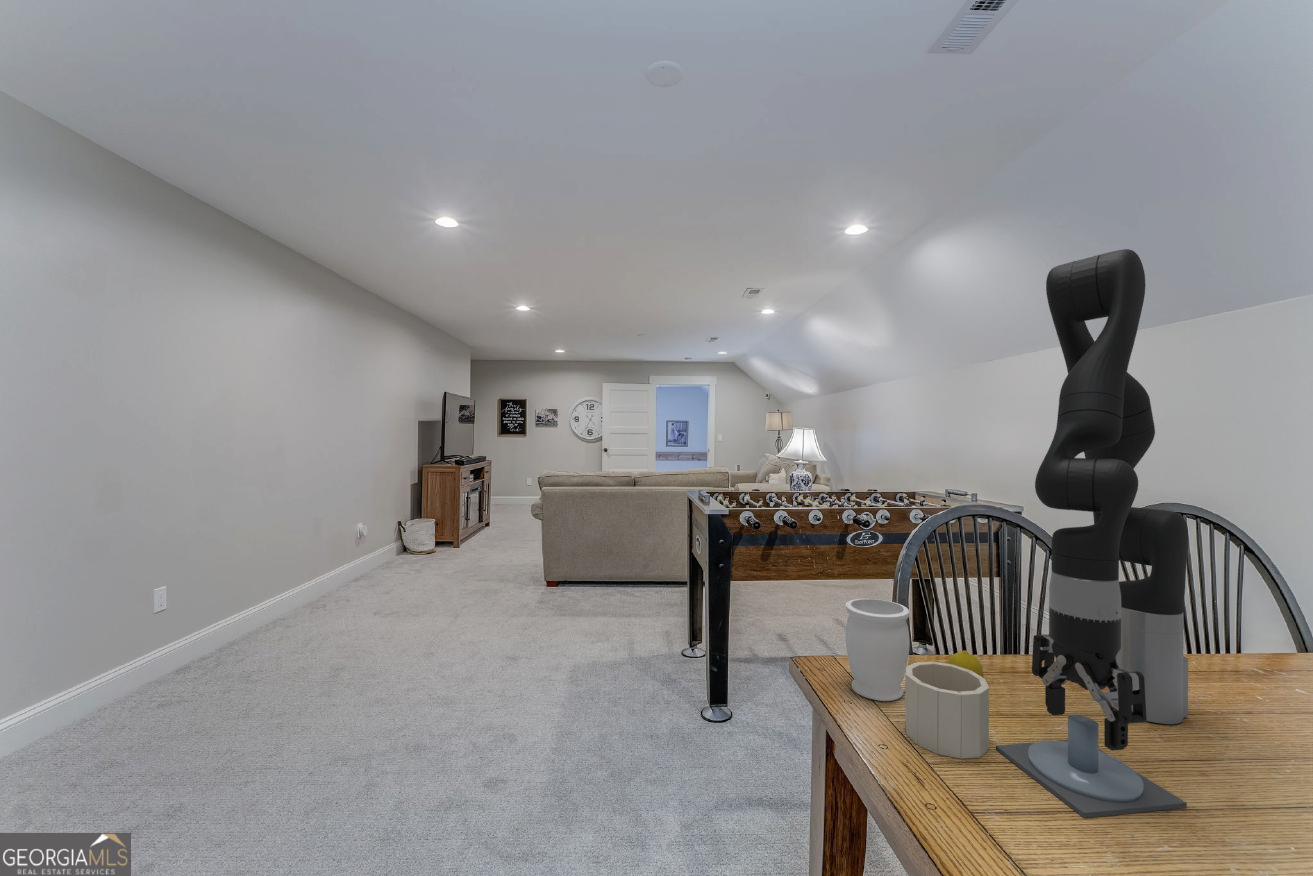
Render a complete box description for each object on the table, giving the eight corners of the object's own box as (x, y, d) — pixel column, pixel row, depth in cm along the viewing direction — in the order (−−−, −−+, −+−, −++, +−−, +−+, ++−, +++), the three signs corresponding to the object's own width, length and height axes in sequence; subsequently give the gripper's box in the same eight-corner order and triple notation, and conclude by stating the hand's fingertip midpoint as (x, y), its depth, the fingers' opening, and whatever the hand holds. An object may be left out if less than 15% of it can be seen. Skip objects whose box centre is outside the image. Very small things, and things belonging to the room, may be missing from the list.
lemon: (989, 706, 90) (989, 658, 90) (952, 703, 91) (953, 656, 91) (976, 691, 96) (976, 646, 96) (942, 688, 97) (942, 643, 97)
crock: (954, 715, 87) (954, 660, 87) (1005, 755, 77) (1005, 691, 76) (891, 720, 86) (891, 663, 86) (934, 761, 75) (935, 696, 75)
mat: (1082, 742, 80) (1082, 738, 80) (1186, 807, 66) (1186, 802, 66) (995, 749, 78) (995, 745, 78) (1084, 818, 64) (1084, 813, 64)
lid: (1082, 743, 79) (1082, 696, 78) (1170, 798, 67) (1170, 743, 67) (1007, 749, 77) (1007, 701, 77) (1083, 806, 65) (1083, 750, 65)
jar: (876, 710, 89) (876, 619, 89) (832, 684, 98) (833, 601, 98) (923, 698, 93) (923, 611, 93) (876, 673, 103) (876, 595, 103)
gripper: (1165, 626, 65) (1164, 760, 65) (1062, 591, 79) (1062, 702, 79) (1110, 629, 64) (1109, 765, 64) (1016, 593, 78) (1015, 705, 78)
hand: (1083, 730), depth 72 cm, fingers open, 8 cm apart
